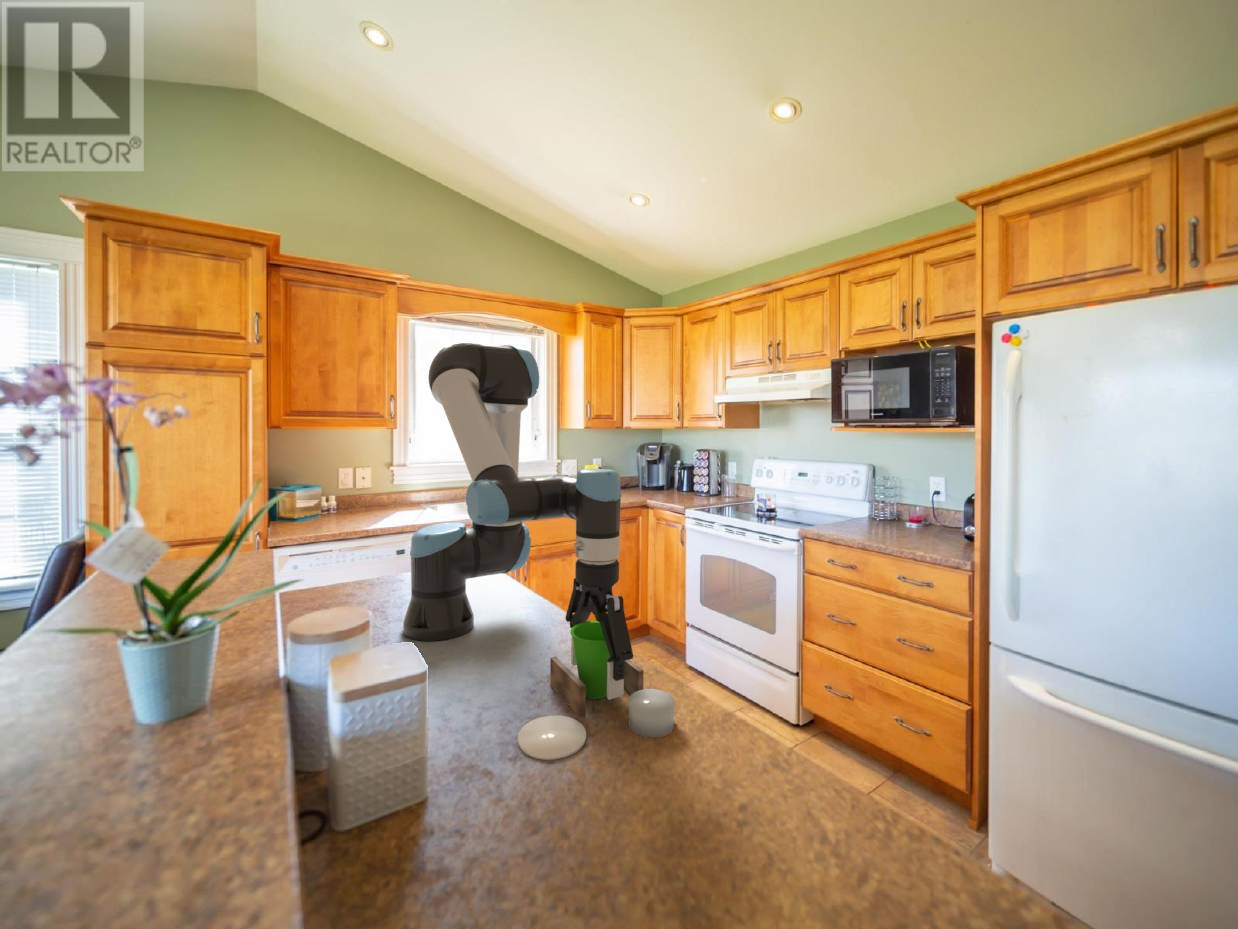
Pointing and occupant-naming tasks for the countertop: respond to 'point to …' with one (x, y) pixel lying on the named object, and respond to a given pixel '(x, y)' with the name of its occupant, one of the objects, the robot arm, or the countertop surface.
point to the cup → (591, 657)
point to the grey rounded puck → (651, 713)
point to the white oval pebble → (552, 737)
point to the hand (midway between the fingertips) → (595, 679)
